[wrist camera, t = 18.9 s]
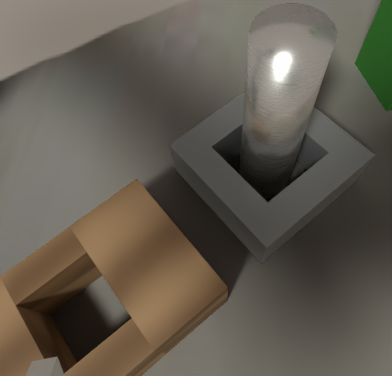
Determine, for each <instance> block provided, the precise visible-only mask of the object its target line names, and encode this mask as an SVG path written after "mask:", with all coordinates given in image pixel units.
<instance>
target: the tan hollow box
mask: <svg viewBox="0 0 392 376" xmlns="http://www.w3.org/2000/svg"><path fill="white" fill-rule="evenodd" d="M101 275H103V277H104V278H105V280H106V281H107V283H108V284H109V285H110V287H111V288H112V290H113V291H114V293H115V294H116V296H117V297H118V299H119V300H120V302H121V303H122V304H123V306H124V307H125V309H126V310H127V312H128V313H129V315H130V316H131V319H130V320H129V321H128V322H126V323H125V324H124V325H123V326H121V327H120V328H119V329H118V330H117V331H115V332H114V333H113V334H112V335H111V336H109V337H108V338H107V339H106V340H104V341H103V342H102V343H101V344H100V345H98V346H97V347H96V348H95V349H93V350H92V351H91V352H90V353H89V354H87V355H86V356H85V357H84V358H83V359H81V360H80V361H79V362H78V363H77V361H76V359H75V357H74V356H73V354H72V352H71V350H70V349H69V347H68V345H67V344H66V342H65V340H64V338H63V337H62V335H61V333H60V331H59V330H58V328H57V326H56V325H55V323H54V321H53V319H52V318H51V316H50V315H51V314H52V313H54V312H55V311H56V310H57V309H59V308H60V307H61V306H63V305H64V304H65V303H66V302H68V301H69V300H70V299H72V298H73V297H74V296H76V295H77V294H78V293H79V292H81V291H82V290H83V289H85V288H86V287H87V286H89V285H90V284H91V283H92V282H94V281H95V280H96V279H98V278H99V277H100V276H101ZM227 300H228V287H227V286H226V284H225V283H224V282H223V281H222V280H221V278H220V277H219V276H218V275H217V274H216V272H215V271H214V270H213V269H212V268H211V267H210V265H209V264H208V263H207V262H206V261H205V259H204V258H203V257H202V256H201V255H200V253H199V252H198V251H197V250H196V249H195V247H194V246H193V245H192V244H191V243H190V242H189V240H188V239H187V238H186V237H185V236H184V234H183V233H182V232H181V231H180V230H179V228H178V227H177V226H176V225H175V224H174V223H173V221H172V220H171V219H170V218H169V217H168V215H167V214H166V213H165V212H164V211H163V209H162V208H161V207H160V206H159V205H158V203H157V202H156V201H155V200H154V199H153V198H152V196H151V195H150V194H149V193H148V192H147V190H146V189H145V188H144V187H143V186H142V184H141V183H140V182H139V181H138V180H137V179H135V180H134V181H133V182H131V183H130V184H128V185H127V186H126V187H124V188H123V189H121V190H120V191H119V192H117V193H116V194H114V195H113V196H112V197H110V198H109V199H107V200H106V201H105V202H103V203H102V204H101V205H99V206H98V207H96V208H95V209H94V210H92V211H91V212H89V213H88V214H87V215H85V216H84V217H82V218H81V219H80V220H78V221H77V222H75V223H74V224H73V225H71V226H70V227H69V228H67V229H66V230H64V231H63V232H62V233H60V234H59V235H57V236H56V237H55V238H53V239H52V240H50V241H49V242H48V243H46V244H45V245H43V246H42V247H41V248H39V249H38V250H37V251H35V252H34V253H32V254H31V255H30V256H28V257H27V258H25V259H24V260H23V261H21V262H20V263H18V264H17V265H16V266H14V267H13V268H11V269H10V270H9V271H7V272H6V273H5V274H3V275H2V276H0V376H26V374H27V371H28V369H29V367H30V365H31V363H32V361H37V360H42V359H47V358H52V357H58V359H59V362H60V365H61V368H62V370H63V373H64V376H141V375H142V374H144V373H145V372H146V371H147V370H148V369H149V368H150V367H152V366H153V365H154V364H155V363H156V362H157V361H158V360H160V359H161V358H162V357H163V356H164V355H165V354H167V353H168V352H169V351H170V350H171V349H172V348H173V347H175V346H176V345H177V344H178V343H179V342H180V341H181V340H183V339H184V338H185V337H186V336H187V335H188V334H190V333H191V332H192V331H193V330H194V329H195V328H196V327H198V326H199V325H200V324H201V323H202V322H203V321H204V320H206V319H207V318H208V317H209V316H210V315H211V314H212V313H214V312H215V311H216V310H217V309H218V308H219V307H221V306H222V305H223V304H224V303H225V302H226V301H227Z"/></svg>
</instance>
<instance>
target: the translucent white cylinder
mask: <svg viewBox="0 0 392 376" xmlns="http://www.w3.org/2000/svg"><path fill="white" fill-rule="evenodd" d="M336 38H337V31H336V27H335V25H334V23H333V21H332V20H331V19H330V18H329V17H328V16H327V15H326V14H325V13H323V12H322V11H320V10H319V9H316V8H314V7H311V6H308V5H304V4H298V3H286V4H279V5H275V6H272V7H270V8H267V9H265V10H264V11H262V12H261V13H259V14H258V15H257V16H256V17H255V18H254V20H253V21H252V23H251V25H250V29H249V39H248V54H247V69H246V83H245V98H244V113H243V127H242V142H241V157H240V171H239V175H240V176H241V177H242V178H243V179H244V180H245V181H246V182H247V183H248V184H249V185H251V186H252V187H253V188H254V189H255V190H256V191H257V192H258V193H259V194H260V195H261V196H262V197H263V198H272V197H275V196H276V195H278V194H279V193H280V192H281V191H282V190H284V189H285V188H286V186H287V184H288V181H289V178H290V175H291V172H292V169H293V166H294V163H295V160H296V157H297V155H298V152H299V149H300V146H301V143H302V140H303V137H304V134H305V131H306V128H307V125H308V122H309V119H310V116H311V113H312V110H313V107H314V104H315V101H316V99H317V96H318V93H319V90H320V87H321V84H322V81H323V78H324V75H325V72H326V69H327V66H328V63H329V60H330V57H331V54H332V51H333V48H334V45H335V42H336Z"/></svg>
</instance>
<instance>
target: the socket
mask: <svg viewBox="0 0 392 376" xmlns="http://www.w3.org/2000/svg"><path fill="white" fill-rule="evenodd" d="M244 98H245V91H244V92H242V93H241V94H240V95H238V96H237V97H235V98H234V99H233V100H231V101H230V102H228V103H227V104H225V105H224V106H223V107H221V108H220V109H218V110H217V111H216V112H214V113H213V114H211V115H210V116H209V117H207V118H206V119H204V120H203V121H202V122H200V123H199V124H197V125H196V126H195V127H193V128H192V129H190V130H189V131H187V132H186V133H185V134H183V135H182V136H180V137H179V138H178V139H176V140H175V141H173V142H172V143H171V144H169V146H170V150H171V154H172V158H173V161H174V165H175V169H176V171H177V172H178V173H179V174H180V175H181V176H182V178H183V179H184V180H185V181H186V182H187V183H188V184H189V185H190V186H191V187H192V189H193V190H194V191H195V192H196V193H197V194H198V195H199V196H200V197H201V198H202V199H203V201H204V202H205V203H206V204H207V205H208V206H209V207H210V208H211V209H212V210H213V211H214V213H215V214H216V215H217V216H218V217H219V218H220V219H221V220H222V221H223V222H224V224H225V225H226V226H227V227H228V228H229V229H230V230H231V231H232V232H233V233H234V234H235V236H236V237H237V238H238V239H239V240H240V241H241V242H242V243H243V244H244V245H245V246H246V248H247V249H248V250H249V251H250V252H251V253H252V254H253V255H254V256H255V257H256V259H257V260H258V261H259V262H260V263H263V262H264V261H265V260H266V259H267V258H268V257H269V256H271V255H272V254H273V253H274V252H275V251H276V250H278V249H279V248H280V247H281V246H282V245H283V244H285V243H286V242H287V241H288V240H289V239H290V238H291V237H293V236H294V235H295V234H296V233H297V232H298V231H300V230H301V229H302V228H303V227H304V226H305V225H307V224H308V223H309V222H310V221H311V220H312V219H313V218H315V217H316V216H317V215H318V214H319V213H320V212H322V211H323V210H324V209H325V208H326V207H327V206H329V205H330V204H331V203H332V202H333V201H334V200H335V199H337V198H338V197H339V196H340V195H341V194H342V193H344V192H345V191H346V190H347V189H348V188H349V187H351V186H352V185H353V184H354V183H355V182H356V181H357V180H358V179H359V177H360V176H361V175H362V173H363V172H364V170H365V169H366V168H367V166H368V165H369V163H370V162H371V161H372V159H373V158H374V156H375V154H374V153H372V152H371V151H370V150H369V149H367V148H366V147H365V146H363V145H362V144H361V143H360V142H358V141H357V140H356V139H355V138H353V137H352V136H351V135H350V134H348V133H347V132H346V131H344V130H343V129H342V128H341V127H339V126H338V125H337V124H336V123H334V122H333V121H332V120H331V119H329V118H328V117H327V116H326V115H324V114H323V113H322V112H320V111H319V110H318V109H317V108H315V107H313V110H312V113H311V116H310V119H309V122H308V125H307V128H306V131H305V134H304V137H303V140H302V143H301V146H300V149H299V152H298V155H297V157H296V161H297V162H298V163H299V164H300V165H302V166H303V167H304V168H305V169H306V170H307V171H306V172H304V173H303V174H302V175H301V176H300V177H298V178H297V179H296V180H295V181H293V182H292V183H291V184H290V185H289V186H287V187H286V188H285V189H284V190H282V191H281V192H280V193H279V194H278V195H276V196H275V197H274V198H273V199H271V200H270V201H269V202H267V201H266V200H265V199H264V198H263V197H262V196H261V195H260V194H259V193H258V192H257V191H256V190H255V189H254V188H253V187H252V186H251V185H249V184H248V183H247V182H246V181H245V180H244V179H243V178H242V177H241V176H240V175H239V174H238V173H237V172H236V171H235V170H234V169H233V168H232V167H231V166H230V165H229V164H228V163H227V162H228V161H229V160H230V159H232V158H233V157H234V156H236V155H237V154H238V153H239V152H241V142H242V127H243V113H244Z"/></svg>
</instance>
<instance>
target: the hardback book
mask: <svg viewBox="0 0 392 376" xmlns="http://www.w3.org/2000/svg"><path fill="white" fill-rule="evenodd" d="M355 64H356V66H357V67H358V69H359V71H360V72H361V74H362V75H363V77H364V78H365V80H366V81H367V83H368V84H369V86H370V87H371V89H372V90H373V92H374V93H375V95H376V96H377V98H378V99H379V101H380V102H381V104H382V106H383V107H384V109H385V110H386V111H389V110H392V0H382V1H381V4H380V6H379V8H378V11H377V13H376V15H375V18H374V20H373V22H372V25H371V27H370V29H369V32H368V34H367V36H366V39H365V41H364V44H363V46H362V48H361V51H360V53H359V55H358V58H357V60H356V62H355Z"/></svg>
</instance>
